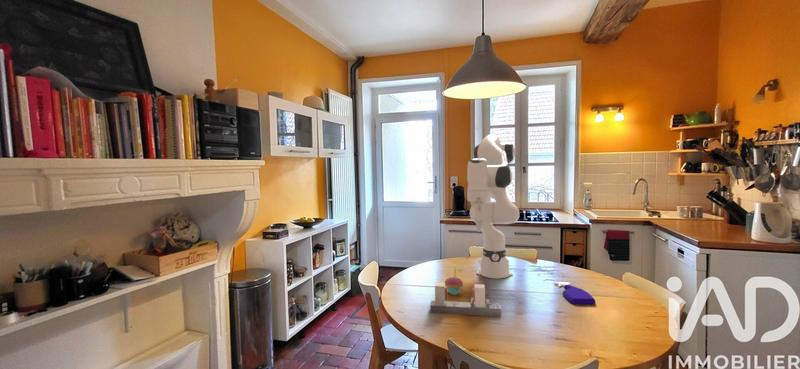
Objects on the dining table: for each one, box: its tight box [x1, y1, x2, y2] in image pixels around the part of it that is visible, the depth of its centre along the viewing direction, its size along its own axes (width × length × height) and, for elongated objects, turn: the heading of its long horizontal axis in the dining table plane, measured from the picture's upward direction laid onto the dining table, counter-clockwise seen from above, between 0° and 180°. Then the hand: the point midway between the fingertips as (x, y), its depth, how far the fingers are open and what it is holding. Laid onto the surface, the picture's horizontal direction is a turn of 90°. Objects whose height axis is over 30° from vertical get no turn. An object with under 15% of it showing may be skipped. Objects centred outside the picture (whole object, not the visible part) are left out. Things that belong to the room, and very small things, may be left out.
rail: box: [429, 282, 502, 317], centre depth 138 cm, size 5×28×11 cm, turn 79°
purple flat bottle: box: [553, 281, 596, 306], centre depth 155 cm, size 3×11×24 cm
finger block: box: [472, 283, 486, 308], centre depth 137 cm, size 4×5×8 cm
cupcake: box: [444, 266, 464, 296], centre depth 159 cm, size 9×8×12 cm
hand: (478, 228), depth 144 cm, fingers open, 8 cm apart
